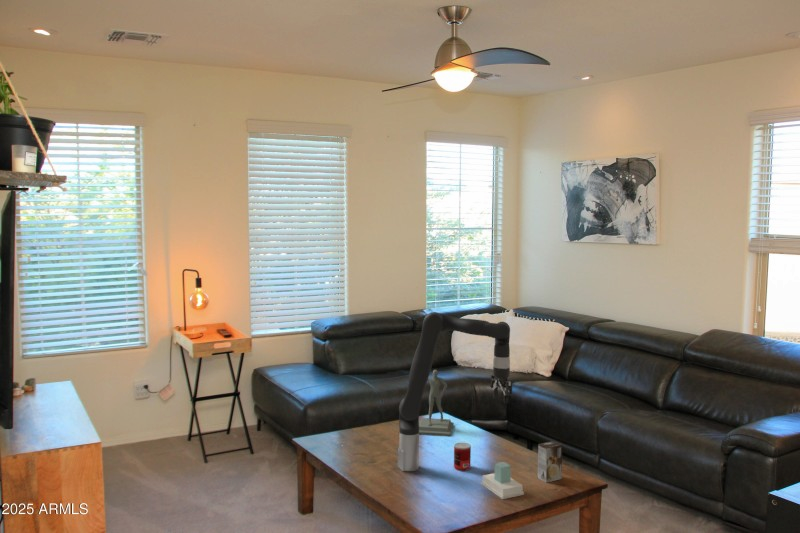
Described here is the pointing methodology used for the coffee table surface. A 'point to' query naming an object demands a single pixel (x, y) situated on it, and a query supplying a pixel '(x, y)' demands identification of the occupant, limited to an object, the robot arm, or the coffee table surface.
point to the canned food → (462, 456)
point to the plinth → (502, 487)
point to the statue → (439, 425)
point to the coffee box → (549, 461)
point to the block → (502, 472)
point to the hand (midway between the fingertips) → (500, 400)
